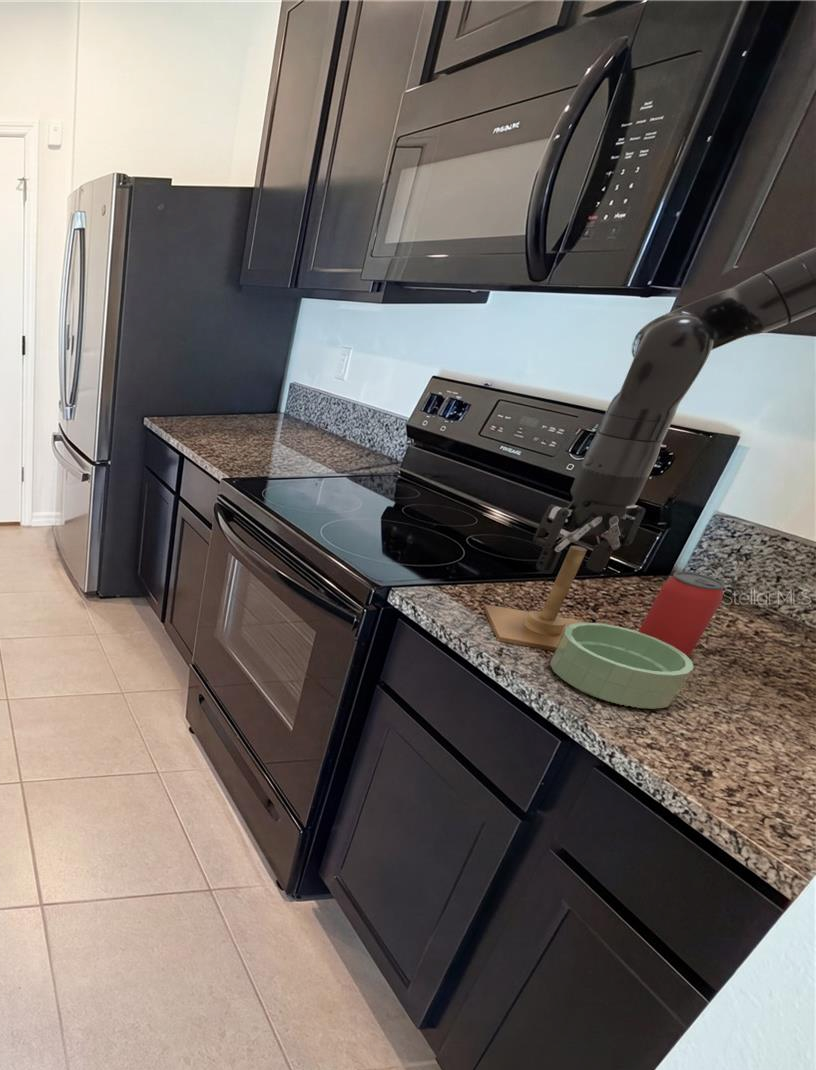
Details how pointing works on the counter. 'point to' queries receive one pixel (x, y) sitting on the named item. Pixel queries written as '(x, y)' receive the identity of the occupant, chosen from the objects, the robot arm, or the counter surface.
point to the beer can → (683, 610)
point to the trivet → (520, 628)
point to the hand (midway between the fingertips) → (568, 570)
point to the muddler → (556, 597)
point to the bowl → (620, 665)
